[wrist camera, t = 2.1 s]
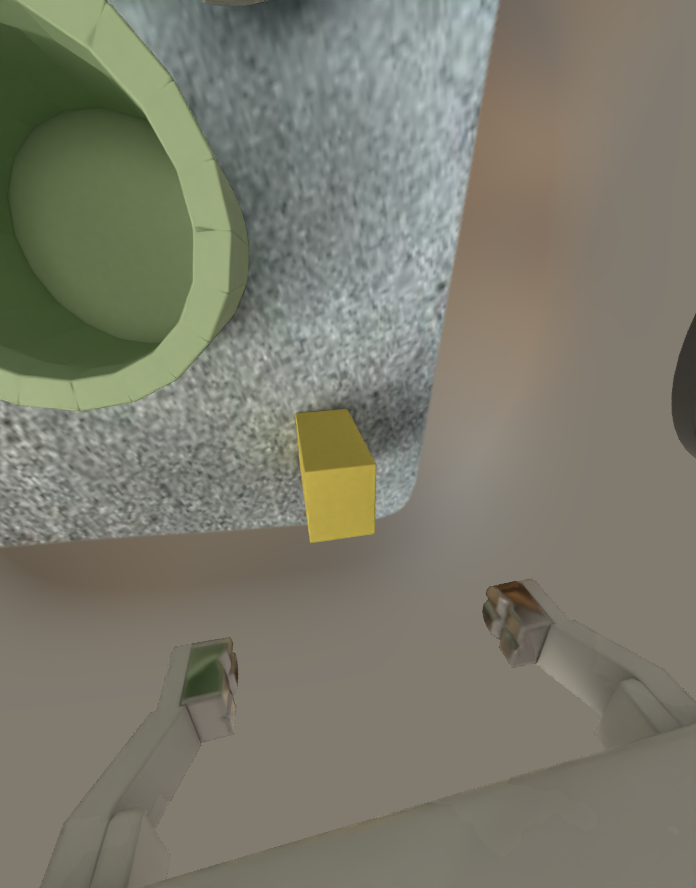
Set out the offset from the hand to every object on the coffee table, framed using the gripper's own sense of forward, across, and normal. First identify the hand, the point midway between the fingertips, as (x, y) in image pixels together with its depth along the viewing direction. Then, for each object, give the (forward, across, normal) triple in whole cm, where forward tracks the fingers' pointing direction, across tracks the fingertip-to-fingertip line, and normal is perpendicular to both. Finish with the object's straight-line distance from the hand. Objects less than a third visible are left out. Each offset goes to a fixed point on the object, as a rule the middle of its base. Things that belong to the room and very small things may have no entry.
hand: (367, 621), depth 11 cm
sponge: (+13, 0, 0) cm, 13 cm away
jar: (+13, +8, -11) cm, 19 cm away
